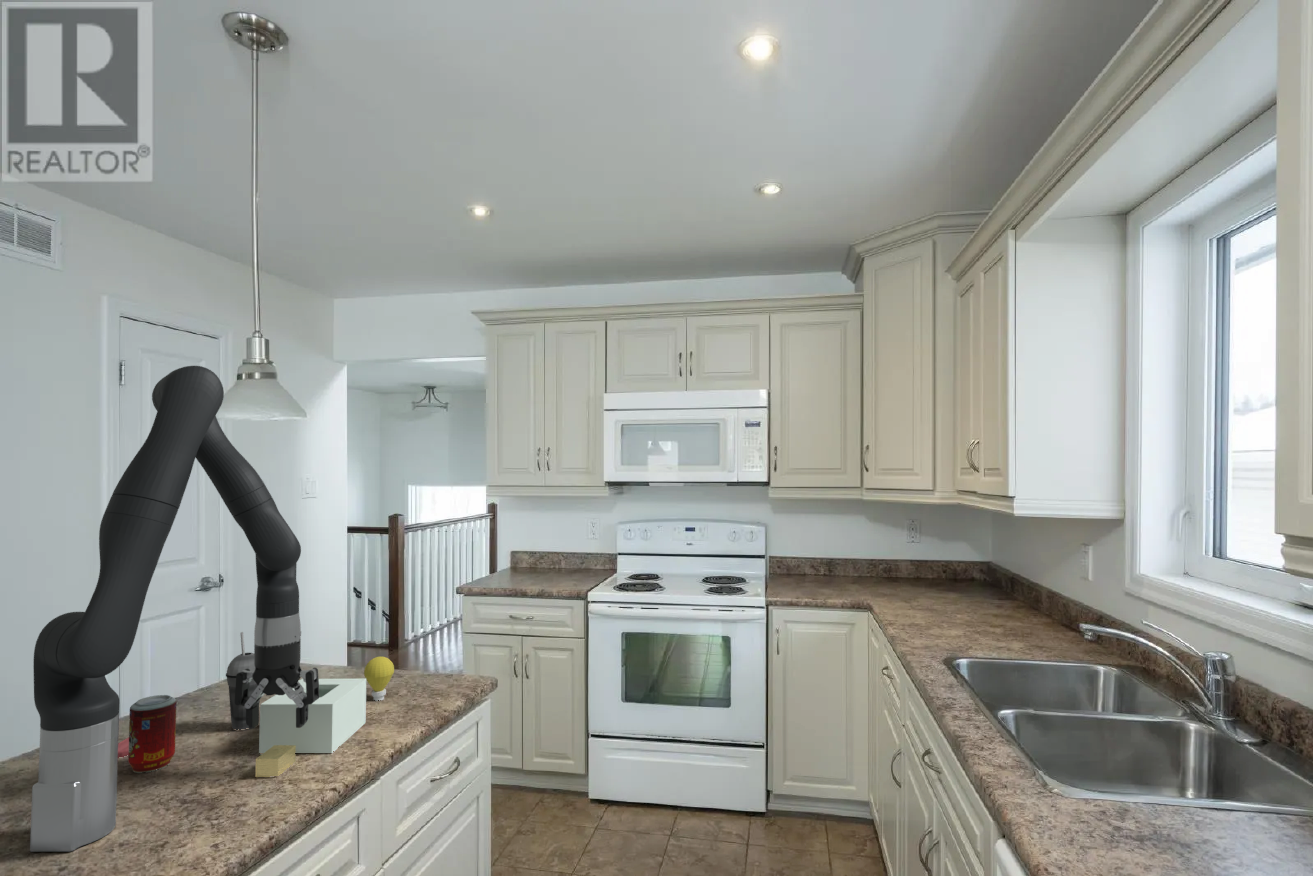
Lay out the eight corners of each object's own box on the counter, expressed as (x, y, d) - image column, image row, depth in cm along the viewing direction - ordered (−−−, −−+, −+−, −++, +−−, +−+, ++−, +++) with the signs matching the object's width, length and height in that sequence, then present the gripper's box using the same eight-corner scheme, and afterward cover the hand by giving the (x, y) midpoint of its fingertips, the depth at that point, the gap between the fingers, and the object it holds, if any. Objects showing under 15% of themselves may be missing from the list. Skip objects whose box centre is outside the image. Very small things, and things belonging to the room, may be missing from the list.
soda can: (122, 767, 127) (125, 700, 127) (168, 755, 132) (170, 690, 133) (133, 778, 122) (136, 708, 123) (180, 765, 128) (182, 698, 128)
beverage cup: (245, 734, 142) (247, 637, 143) (215, 732, 143) (218, 635, 144) (271, 722, 149) (273, 629, 150) (243, 719, 151) (245, 627, 151)
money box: (331, 753, 133) (332, 704, 133) (259, 754, 132) (260, 704, 133) (365, 722, 149) (366, 678, 149) (300, 723, 148) (301, 678, 149)
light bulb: (363, 697, 165) (363, 655, 166) (392, 693, 168) (393, 652, 168) (363, 705, 159) (364, 662, 159) (394, 701, 162) (395, 659, 162)
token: (277, 778, 123) (278, 759, 123) (255, 778, 122) (255, 759, 123) (295, 764, 128) (295, 745, 129) (273, 764, 128) (274, 745, 129)
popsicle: (178, 722, 146) (128, 752, 131) (178, 730, 146) (128, 760, 131) (152, 723, 145) (99, 752, 130) (152, 730, 145) (99, 761, 130)
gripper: (226, 645, 123) (226, 736, 123) (307, 643, 123) (306, 734, 123) (250, 634, 130) (249, 719, 130) (325, 632, 131) (325, 718, 131)
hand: (277, 726), depth 127 cm, fingers open, 8 cm apart
